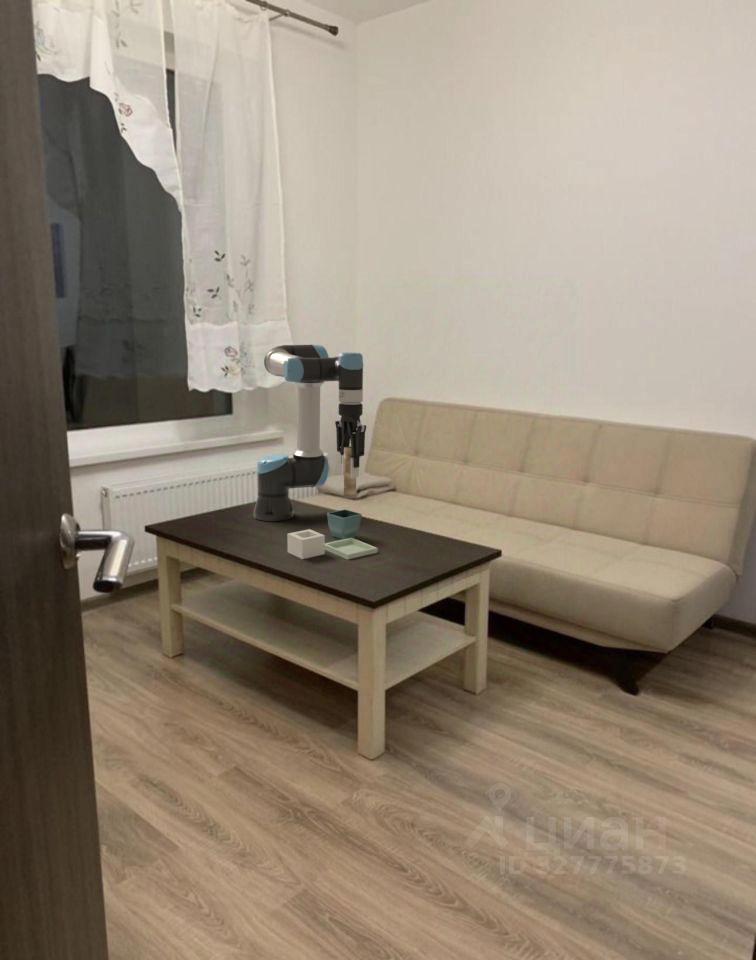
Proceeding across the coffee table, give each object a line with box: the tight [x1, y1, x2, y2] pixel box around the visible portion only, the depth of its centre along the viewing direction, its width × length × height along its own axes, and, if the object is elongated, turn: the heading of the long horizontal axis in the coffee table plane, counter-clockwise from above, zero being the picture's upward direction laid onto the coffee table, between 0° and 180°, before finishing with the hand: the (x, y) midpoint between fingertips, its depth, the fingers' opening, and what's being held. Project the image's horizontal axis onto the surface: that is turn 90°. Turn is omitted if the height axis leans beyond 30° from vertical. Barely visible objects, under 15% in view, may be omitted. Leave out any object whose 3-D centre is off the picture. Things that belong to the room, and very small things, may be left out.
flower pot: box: [326, 509, 363, 540], centre depth 260 cm, size 9×9×9 cm
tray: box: [325, 537, 378, 560], centre depth 245 cm, size 14×12×2 cm
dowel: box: [343, 445, 357, 499], centre depth 240 cm, size 4×4×16 cm
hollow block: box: [286, 528, 326, 560], centre depth 242 cm, size 9×9×7 cm
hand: (350, 475), depth 240 cm, fingers closed on dowel, 4 cm apart
